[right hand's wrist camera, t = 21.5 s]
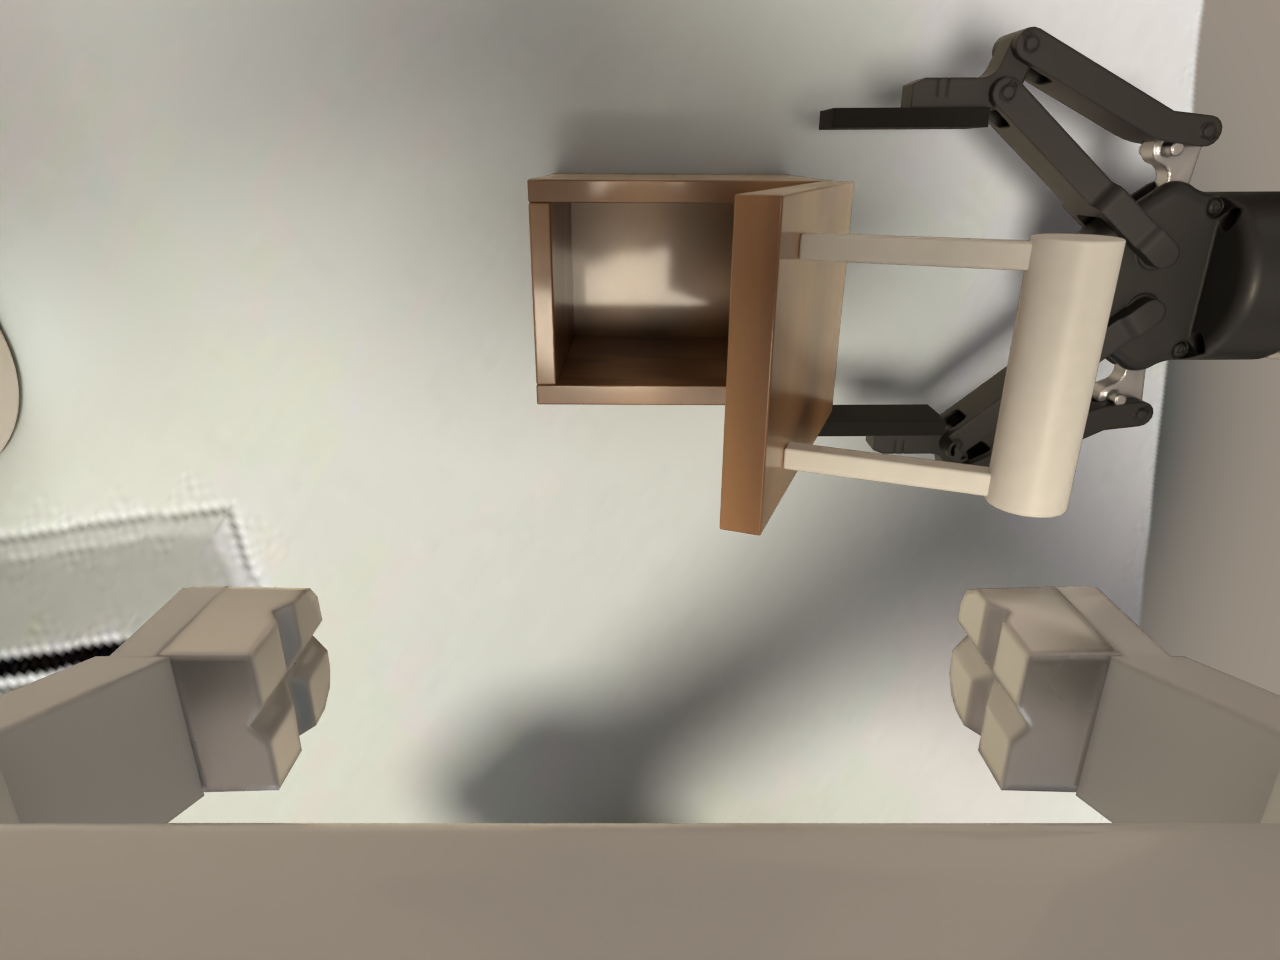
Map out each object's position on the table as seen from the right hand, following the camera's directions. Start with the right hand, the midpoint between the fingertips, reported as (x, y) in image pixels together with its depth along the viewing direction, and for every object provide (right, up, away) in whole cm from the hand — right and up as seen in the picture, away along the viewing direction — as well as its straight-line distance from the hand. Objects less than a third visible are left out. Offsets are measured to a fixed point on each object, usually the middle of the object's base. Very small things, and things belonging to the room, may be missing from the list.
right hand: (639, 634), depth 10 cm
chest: (+2, +14, +34) cm, 36 cm away
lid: (+5, +7, +17) cm, 19 cm away
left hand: (+8, +11, +27) cm, 30 cm away
